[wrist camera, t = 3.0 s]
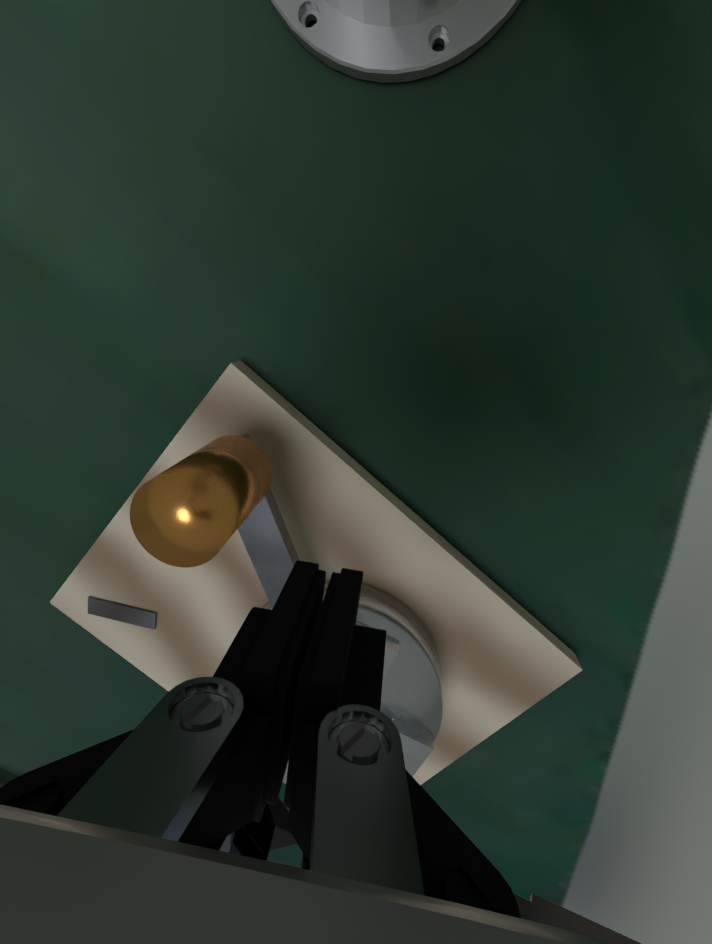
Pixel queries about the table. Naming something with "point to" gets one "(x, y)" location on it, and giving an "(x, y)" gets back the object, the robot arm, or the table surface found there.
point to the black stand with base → (264, 833)
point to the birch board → (332, 547)
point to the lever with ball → (282, 568)
